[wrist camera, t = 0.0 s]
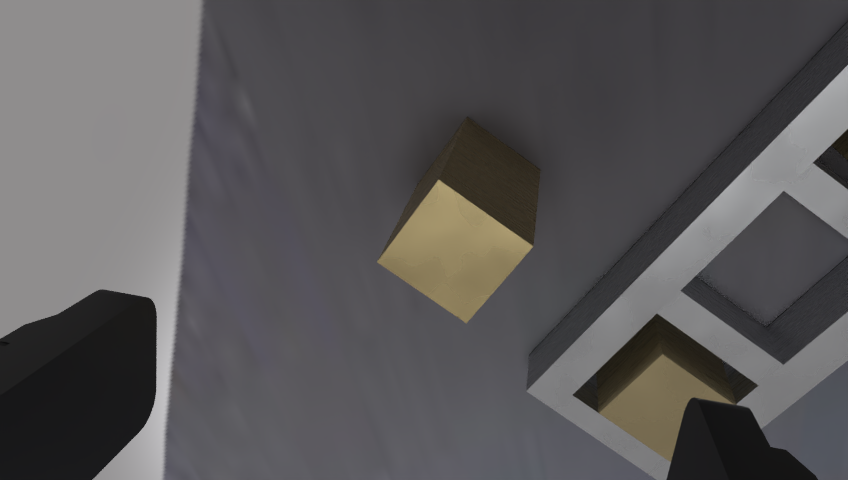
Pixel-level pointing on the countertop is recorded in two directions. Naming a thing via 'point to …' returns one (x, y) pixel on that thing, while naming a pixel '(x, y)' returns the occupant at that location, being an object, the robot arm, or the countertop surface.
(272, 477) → the countertop surface
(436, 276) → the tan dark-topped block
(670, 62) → the countertop surface
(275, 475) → the countertop surface
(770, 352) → the white slotted tray
